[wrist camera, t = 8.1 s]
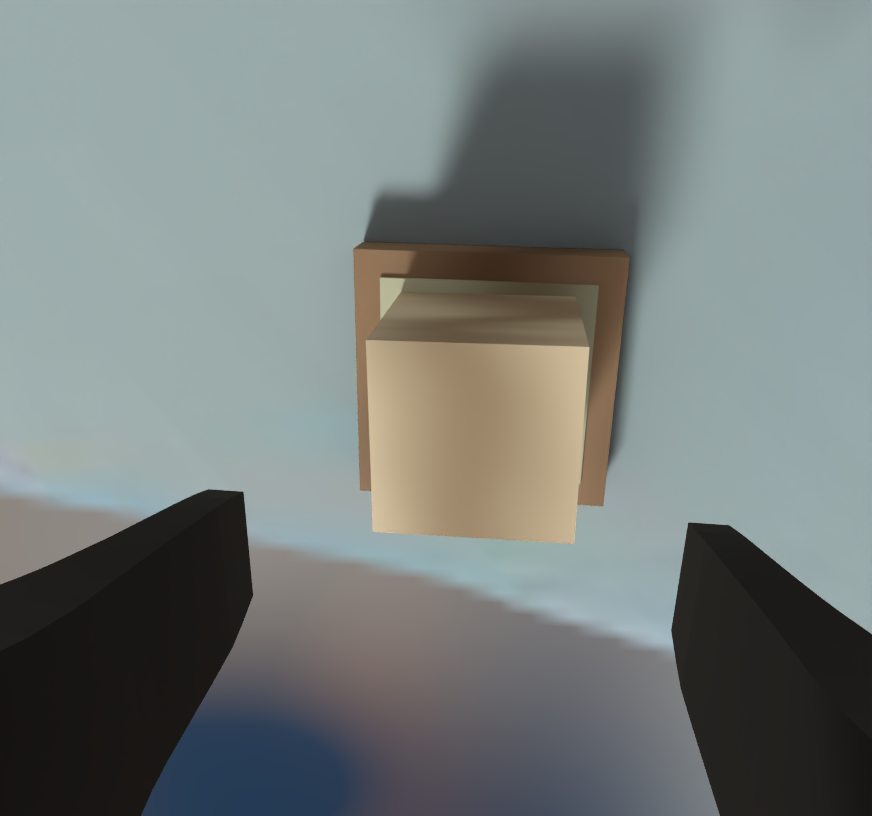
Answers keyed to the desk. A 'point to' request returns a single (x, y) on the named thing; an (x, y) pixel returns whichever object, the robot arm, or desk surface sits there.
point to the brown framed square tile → (505, 275)
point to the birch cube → (477, 416)
